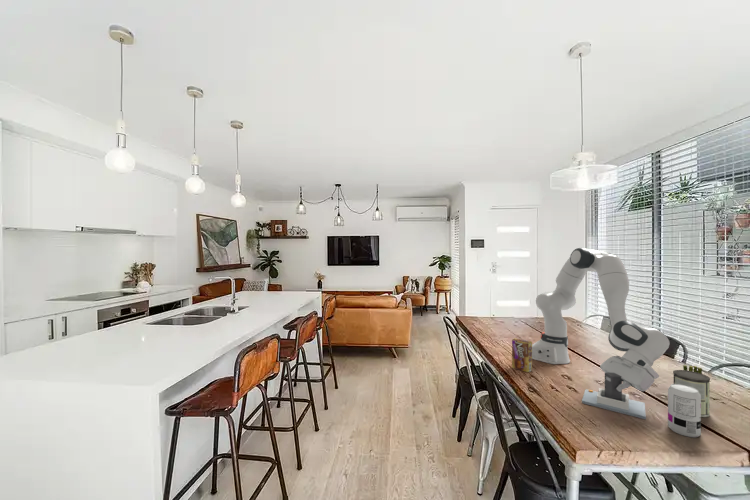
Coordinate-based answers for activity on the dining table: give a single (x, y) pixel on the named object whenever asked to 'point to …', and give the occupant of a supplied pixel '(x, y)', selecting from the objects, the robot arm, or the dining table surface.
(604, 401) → the socket base
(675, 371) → the coffee can
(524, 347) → the candy box
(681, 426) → the supplement can
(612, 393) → the plug
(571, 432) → the dining table surface
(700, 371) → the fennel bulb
